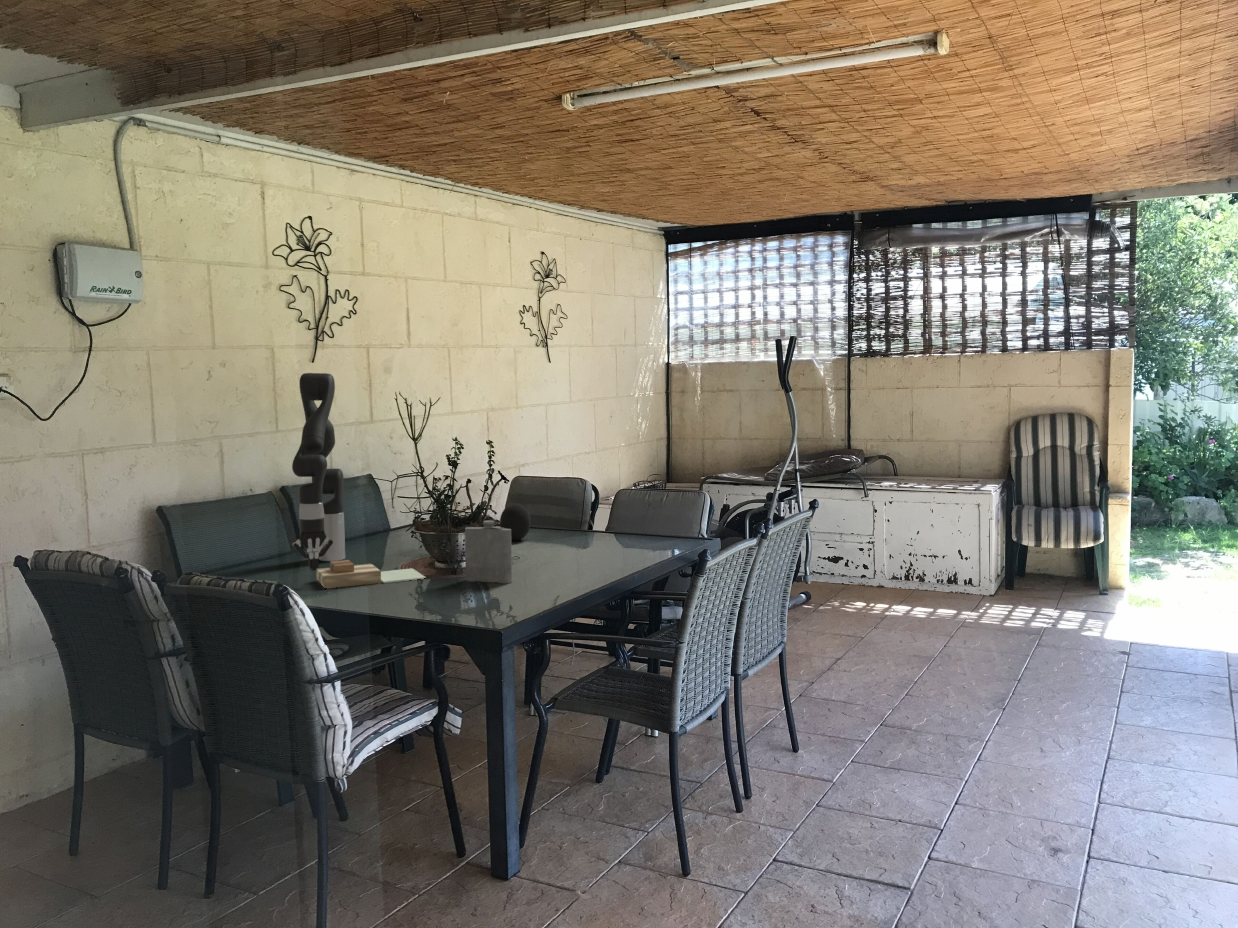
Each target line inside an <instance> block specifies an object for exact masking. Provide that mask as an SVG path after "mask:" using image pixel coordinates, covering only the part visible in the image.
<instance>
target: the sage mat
mask: <svg viewBox="0 0 1238 928" xmlns="http://www.w3.org/2000/svg"><path fill="white" fill-rule="evenodd" d="M426 577H427V576H425V575H423V574H422V573H420V572H419V571H417V570H416V569H414V568H411V567H410V568H405V569H404V568H402V569H393V570H392V569H391V570H384V571H383V570H382V571H381V583H383V584H392V583H400V582H402V581H403V582H408V581H409V580H412V581H417V579H421V580H425V579H424V578H426ZM426 579H427V578H426ZM409 582H410V581H409Z"/></svg>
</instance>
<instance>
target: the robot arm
mask: <svg viewBox="0 0 1238 928" xmlns="http://www.w3.org/2000/svg"><path fill="white" fill-rule="evenodd" d="M335 383H336V382H335V378H334V376H333V374H331V373H326V372H325V373H324V372H322V373H321V372H318V373H317V372H305V373H302V374H301V375H300V377H299V392H300V393H299V394H300V397H301V402H302V406H303V411H304V419H305V422H304V425H303V428H302V434H301V443H300V445H299V447H298V450H297V452H296V454H295V455H294V458H293V461H292V465H291V468H292V472H293V474H294V475H295V476H297V477H298V478H310V477H311V483H305V484H301V485H300V486H299V490H298V491H299V508H298V510H299V511H298V512H299V514H298V515H299V536H298V539H296V541H295V542H292V546H293V548H294V549H296V551H298V553H299V554H300V555H301V556H302V557H303V558H304V559H308V568H309V569H310V570H311V571H316V570H317V569H319V561H322V562H331V561H342V560H346V542H345V541H346V540H345V539H346V538H345V536H346V535H345V534H346V533H345V514H344V513H345V508H344V507H345V506H344V473H343V470H342V469H341V468H328V461H327V457H328V456H329V455H330V453H331V452H332V451H333V449H334V447H335V444H336V436H335V427H334V425H333V423H332V422H331V421H330V419H329V417H330V412H331V410H332V406H333V401H334V397H335V391H336V385H335ZM315 401H316V402H317V401H319V402H320V405H319V406H317V404H316V402H315ZM323 495H333V497H332V498H331V499H330V500H327V501H325V502H324V501H323V500H324V499H323ZM302 545H303V546H304V547H305V549H306V551H307V553H306V552H305V551H304V550H303V549H302V548H301V547H302Z"/></svg>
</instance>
